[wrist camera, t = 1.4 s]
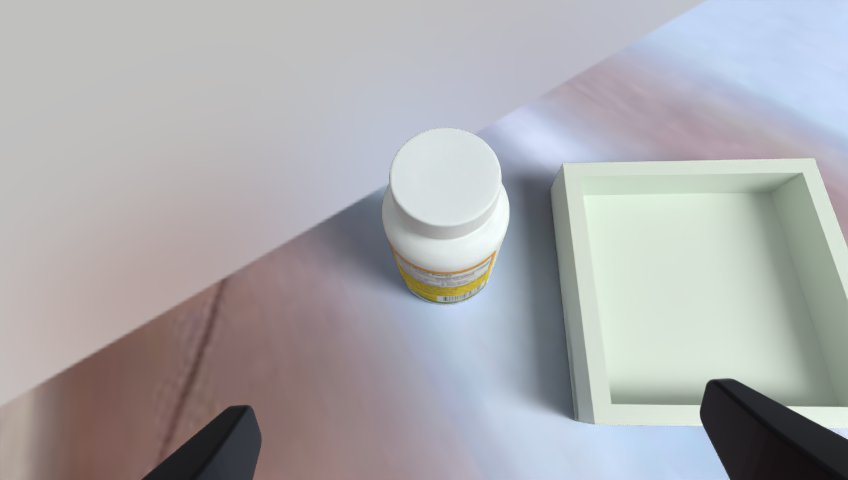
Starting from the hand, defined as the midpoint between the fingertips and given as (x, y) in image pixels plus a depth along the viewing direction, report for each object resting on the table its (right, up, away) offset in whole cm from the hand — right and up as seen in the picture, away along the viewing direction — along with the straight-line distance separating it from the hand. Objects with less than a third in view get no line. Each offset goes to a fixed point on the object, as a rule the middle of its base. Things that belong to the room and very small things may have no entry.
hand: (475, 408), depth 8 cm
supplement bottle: (0, +2, +16) cm, 16 cm away
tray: (+13, 0, +14) cm, 19 cm away
